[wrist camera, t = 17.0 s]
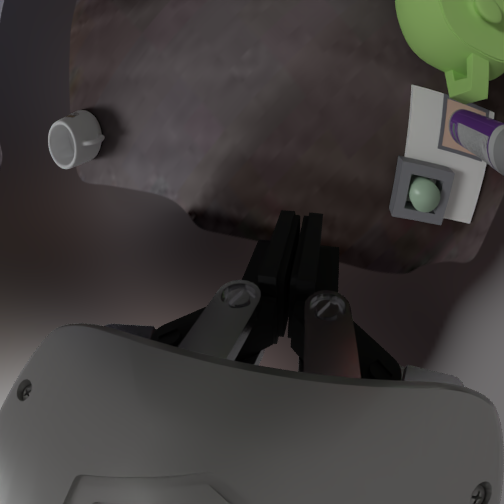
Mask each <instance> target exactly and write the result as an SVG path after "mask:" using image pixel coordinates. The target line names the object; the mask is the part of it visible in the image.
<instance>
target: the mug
mask: <svg viewBox="0 0 504 504" xmlns="http://www.w3.org/2000/svg"><path fill="white" fill-rule="evenodd" d="M104 138H105V137H104V135H102V133H101V128H100V125H99V122H98V121H97V119H96V117H95V116H94V115H93V114H92V113H90V112H88V111H86V110H80V111H76V112H74V113H72V114H70V115H68V116H66V117H64V118H62V119H60V120H58V121H56V122H55V123H54V124H53V125H52V127H51V128H50V131H49V137H48V144H49V150H50V153H51V156H52V157H53V159H54V161H55V163H56V164H57V165H58V166H60V167H61V168H63V169H70V168H72V167H75V166H78V165H80V164H83V163H86V162H88V161H90V160H92V159H93V158H95V157H96V155H97V154H98V152H99V150H100V147H101V143H102V141H103V140H104Z"/></svg>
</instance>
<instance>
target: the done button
mask: <svg viewBox="0 0 504 504" xmlns="http://www.w3.org/2000/svg"><path fill="white" fill-rule="evenodd" d="M407 195H408V197H409V198H410V200H411V202H412V204H413V206H414V207H415V208H416V209H417V210H418V211H420V212H430V211H432V210H434V209H435V208H436V207H437V205H438V204H439V201H440V192H439V189H438V188H437V186H436V185H435V184H434V183H433V182H432V180H431V179H430V178H428V177H423V176H419V175H413V176H411V179H410V184H409V189H408V193H407Z"/></svg>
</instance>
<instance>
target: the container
mask: <svg viewBox="0 0 504 504" xmlns="http://www.w3.org/2000/svg"><path fill="white" fill-rule="evenodd" d="M449 132H450V135H451V137H452V138H453V140H454V141H455V142H456V143H458V144H459V145H461V146H462V147H464V148H465V149H467V150H468V151H470V152H471V153H473V154H474V155H476V156H477V157H479V158H480V159H482V160H483V161H484V162H486V163H487V164H488V165H490V166H491V167H493V168H494V169H495V170H496V171H498V172H499V173H501V174H502V175H503V176H504V123H502V122H499V121H497V120H494V119H492V118H489V117H486V116H483V115H480V114H477V113H475V112H471V111H468V110H465V109H459V110H456V111H455V112H453V113H452V115H451V117H450V119H449Z"/></svg>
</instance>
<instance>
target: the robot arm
mask: <svg viewBox="0 0 504 504" xmlns="http://www.w3.org/2000/svg"><path fill="white" fill-rule="evenodd" d="M322 218H323V214H319V213H309V216H304V218H303V223H302V228H301V232H300V215H295V211H283V210H282V211H281V213H280V216H279V219H278V221H277V224H276V227H275V230H274V232H273V235H272V238H271V241H269V240H259V241H258V243H257V245H256V248H255V250H254V252H253V255H252V257H251V260H250V262H249V264H248V267H247V269H246V271H245V274H244V276H243V278H242V280H235V281H232V282H229V283H227V284H225V285H223V286H222V287H221V288H220V289H219V290H218V291H217V293H216V294H215V296H214V297H213V299H212V300H211V301H210V303H209V304H208V305H207V307H204V308H202V309H200V310H197V311H195V312H193V313H191V314H188V315H186V316H183V317H181V318H179V319H176V320H174V321H172V322H169V323H167V324H164V325H163V326H161V327H159V328H158V329H155V328H154V326H140V325H124V324H123V325H122V324H108V325H105V326H100V325H95V324H84V323H79V324H68V325H64V326H61V327H58V328H56V329H55V330H53V331H52V332H51V333H50V334H49V335H48V336H47V337H46V338H45V339H44V340H43V342H42V343H41V344H40V345H39V347H38V348H37V349H36V351H35V352H34V353H33V355H32V356H31V358H30V359H29V361H28V362H27V364H26V365H25V367H24V368H23V370H22V371H21V373H20V375H19V376H18V378H17V380H16V382H15V383H14V385H13V387H12V389H11V390H10V392H9V394H8V396H7V398H6V400H5V402H4V404H3V406H2V408H1V410H0V504H500V500H501V493H502V484H503V472H504V452H503V451H504V449H503V436H502V429H501V423H500V419H499V415H498V412H497V410H496V408H495V406H494V404H493V403H492V402H491V401H490V400H489V399H488V398H487V397H486V396H484V395H482V394H481V393H479V392H477V391H474V390H472V389H469V388H467V387H464V385H463V383H462V382H461V380H459V378H457V377H455V376H453V375H448V374H443V373H439V372H435V371H431V370H427V369H422V368H418V367H414V366H411V365H407V366H406V367H402V366H399V364H398V363H397V361H396V360H395V359H394V358H393V357H392V356H391V355H390V354H389V353H388V352H386V351H385V350H384V349H383V348H382V347H381V346H380V345H379V344H378V343H377V342H376V341H375V340H373V339H372V338H371V337H370V336H369V335H368V334H367V333H366V332H365V331H364V330H363V329H361V328H360V327H359V326H358V325H357V324H356V323H355V322H354V321H353V319H352V313H351V307H350V304H349V302H348V300H347V299H346V298H345V297H344V296H343V295H341V294H340V293H338V274H339V247H331V246H321V245H320V243H321V231H322ZM288 317H289V324H288V338H291V348H292V349H293V350H294V351H295V352H296V354H297V355H298V356H299V361H298V372H295V371H289V370H282V369H276V368H270V367H264V366H259V363H260V361H261V359H262V357H263V355H264V351H265V348H267V347H269V346H270V345H272V344H277V341H278V337H279V336H282V337H284V334H285V330H286V325H287V321H288Z"/></svg>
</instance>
